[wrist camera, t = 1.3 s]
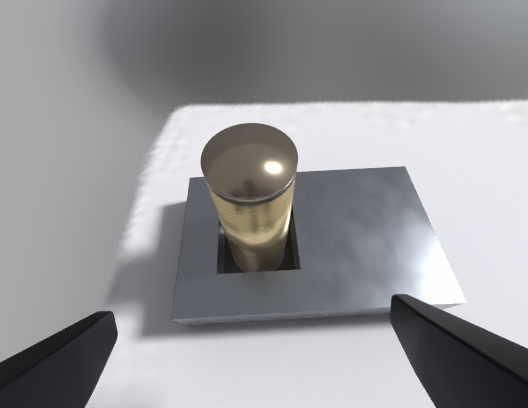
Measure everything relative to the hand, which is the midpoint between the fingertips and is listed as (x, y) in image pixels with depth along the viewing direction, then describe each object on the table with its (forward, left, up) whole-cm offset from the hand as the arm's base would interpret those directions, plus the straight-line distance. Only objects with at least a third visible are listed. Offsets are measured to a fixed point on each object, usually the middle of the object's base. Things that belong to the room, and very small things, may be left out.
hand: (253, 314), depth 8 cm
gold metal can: (+7, +3, -13) cm, 15 cm away
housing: (+8, -1, -13) cm, 15 cm away
